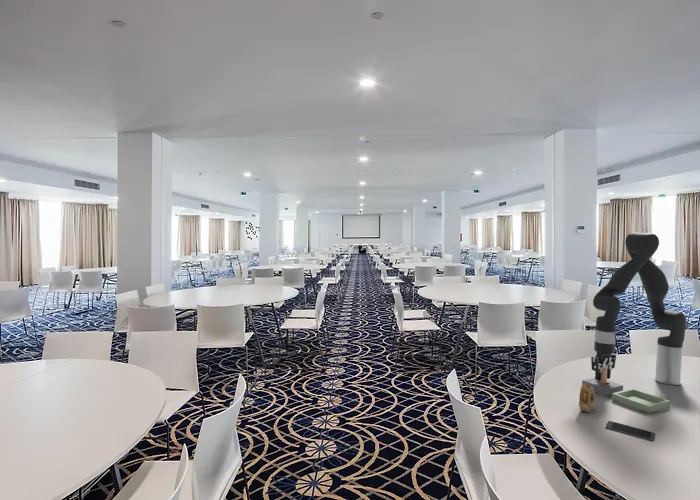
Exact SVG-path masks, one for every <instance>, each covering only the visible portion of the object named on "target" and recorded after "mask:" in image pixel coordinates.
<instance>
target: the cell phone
mask: <svg viewBox="0 0 700 500" xmlns="http://www.w3.org/2000/svg"><path fill="white" fill-rule="evenodd" d="M604 428H605V429H606V430H609V431H612V432H616V433H620V434H624V435H628V436H630V437H635V438H637V439H638V438H639V439H642V440H646V441H650V442H655V439H656V433H655V432H653V431H650V430H647V429H644V428H643V429H642V428H638V427H635V426H631V425H627V424H623V423H620V422H617V421H613V420H608V421H607V423H606V424H605V427H604Z"/></svg>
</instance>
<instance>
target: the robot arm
mask: <svg viewBox="0 0 700 500" xmlns="http://www.w3.org/2000/svg"><path fill="white" fill-rule="evenodd" d="M624 243H625V248H626V251H627V253H628V255H629V256H630V258H631V259H630V260H629V261H627V262H626V263H624V264H623V265H621V266H620V267H619V268H617V269H616V270H615V272H614V273H613V274H612V275H611V277H610V279H609V280H608V282H607V283H606V285H605V286H603V287H602V288H601V289H600V290H599V291H598V292H597V293H596V294H595V296H594V297H593V300H592V304H593V307H594V308H595V309H596V310H599V311H603V312H604V315H599V316H597V317H596V321H595V333H594V341H593V342H594V344H593V346H594V347H593V350H594V352H596V355H595V356H591V357H590V359H591V361H590V363H591V370H592V371H594V372H595V373H594V375H595V376H594V378H595V380H598V381H601V374H602V373H601V371H602V368H604V366H605V365H606V366H608V369H607V380H609V379H611V371H612V369H615V366H616V359H617V354H615V351H616V350H615V348H616V347H615V346H616V332H615V331H616V322H617V319H618V317H619V313H620V311H621V307H622V304H621V300H620V299H619V297H617V296H619V295H623V294H624V293H625V292H626V290H627V289H628V287H629V286H630V284H631V282H632V280H633V279H634V277H635V276H636V275H637V274H638V275H639V279H640V281H641V284H642V287H643V289H644V292H645V294H646V298H647V300H648V302H649V303H648V304H649V306H650V311H651V314H652V315H651V316H652V318H653V322H654V324H655V326H656V327H657V328H659V329H661V330H664V331H669V335H667V336H659V337H658V338H657V340H656V341H657V343H656V346H657V347H656V358H655V359H656V361H655V377H654V378H655V379H654V380H655V381H656V382H659V383H661V384H665V385H671V386H679V385H681V378H682V377H681V376H682V375H681V374H682V363H683V362H682V358H683V345H684V344H683V343H684V341H685V334H686V328H687V318H686V315H685V314H684V312H680V311H675V310H669V309H666V307H665V303H664V300H665V298H666V296H667V294H668V292H669V289H670V286H669V283H668V280H667V277H666V274H665V273H664V271H663V270H662V269H661V268H660V267H659V266H657V265H656V264H655V263H654V262H653V261H652V260H651V258H652V256H653V255H654V254H656V252H657V250H658V248H659V245H660V239H659V237H658V236H657V235H656V234H654V233H650V232H649V233H648V232H629V234H627V235H626V238H625V242H624ZM599 367H600V369H599Z"/></svg>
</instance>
